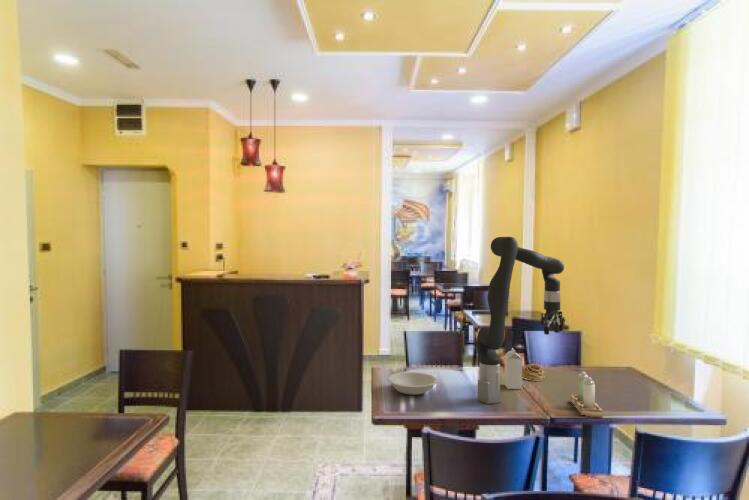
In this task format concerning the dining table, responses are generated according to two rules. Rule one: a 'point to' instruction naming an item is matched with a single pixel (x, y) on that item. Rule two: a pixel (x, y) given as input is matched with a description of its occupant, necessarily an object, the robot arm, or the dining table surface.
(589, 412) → the condiment stand
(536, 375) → the pastry
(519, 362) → the milk carton
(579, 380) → the pepper mill
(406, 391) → the soup bowl
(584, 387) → the salt mill
